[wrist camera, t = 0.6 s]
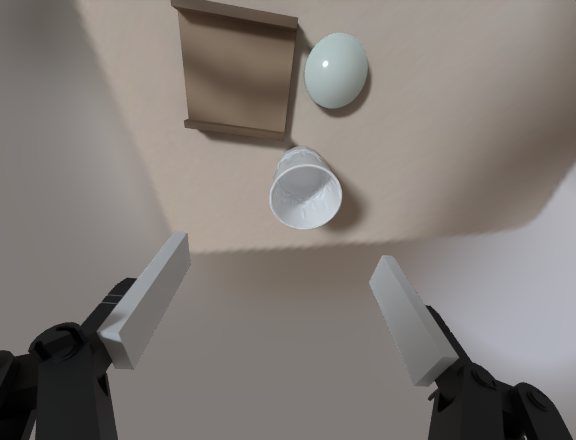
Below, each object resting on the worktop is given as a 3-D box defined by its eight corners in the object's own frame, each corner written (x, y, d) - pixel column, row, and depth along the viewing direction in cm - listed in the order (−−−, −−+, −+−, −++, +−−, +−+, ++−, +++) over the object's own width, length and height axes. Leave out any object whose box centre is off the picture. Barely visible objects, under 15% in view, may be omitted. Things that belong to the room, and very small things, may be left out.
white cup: (313, 130, 29) (325, 150, 20) (334, 179, 33) (352, 212, 24) (263, 158, 31) (255, 186, 22) (288, 201, 35) (290, 239, 26)
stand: (181, 0, 22) (169, -10, 20) (297, 21, 23) (298, 14, 21) (193, 125, 28) (185, 129, 26) (283, 138, 29) (283, 142, 27)
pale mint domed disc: (309, 31, 24) (311, 26, 22) (370, 42, 24) (377, 38, 23) (299, 102, 27) (300, 103, 26) (352, 110, 28) (356, 112, 26)
